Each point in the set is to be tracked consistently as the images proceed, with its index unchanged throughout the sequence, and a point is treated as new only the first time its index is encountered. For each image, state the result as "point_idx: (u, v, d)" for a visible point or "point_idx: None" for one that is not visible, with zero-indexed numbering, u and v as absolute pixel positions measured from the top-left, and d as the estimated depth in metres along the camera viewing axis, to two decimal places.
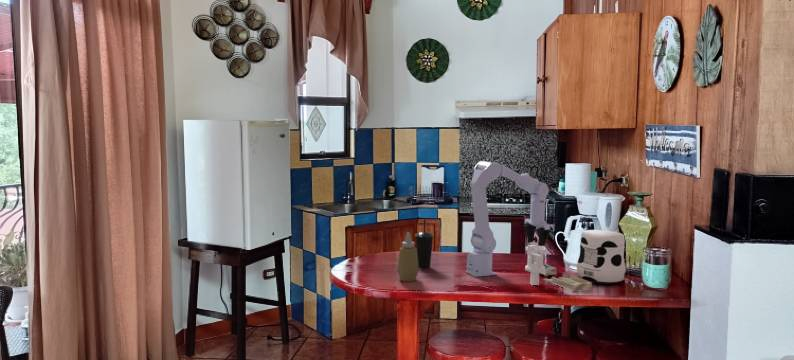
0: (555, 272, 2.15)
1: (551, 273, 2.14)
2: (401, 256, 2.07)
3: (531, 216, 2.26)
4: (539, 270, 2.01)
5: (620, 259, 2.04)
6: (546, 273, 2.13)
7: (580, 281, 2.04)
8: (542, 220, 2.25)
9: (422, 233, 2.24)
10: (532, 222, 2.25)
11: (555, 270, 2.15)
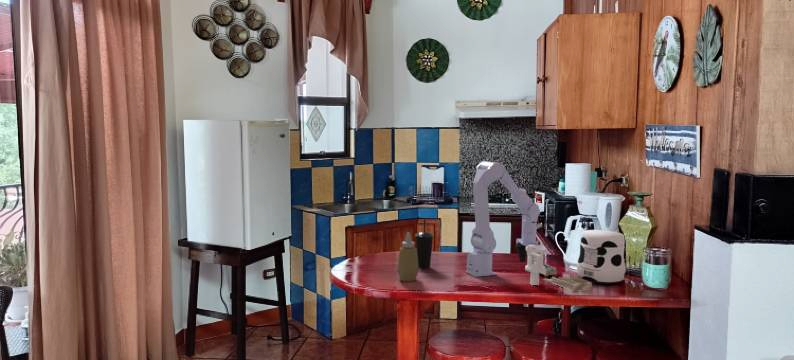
0: (555, 272, 2.15)
1: (551, 273, 2.14)
2: (401, 256, 2.07)
3: (522, 237, 2.26)
4: (539, 270, 2.01)
5: (620, 259, 2.04)
6: (546, 273, 2.13)
7: (580, 281, 2.04)
8: (533, 241, 2.25)
9: (422, 233, 2.24)
10: (524, 243, 2.25)
11: (555, 270, 2.15)
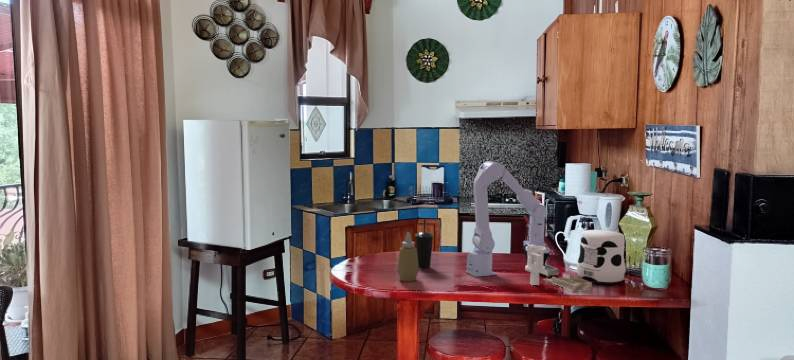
0: (557, 273, 2.14)
1: (553, 274, 2.13)
2: (401, 256, 2.07)
3: (530, 239, 2.21)
4: (539, 270, 2.01)
5: (620, 259, 2.04)
6: (548, 274, 2.12)
7: (580, 281, 2.04)
8: (541, 243, 2.20)
9: (422, 233, 2.24)
10: None
11: (557, 271, 2.14)
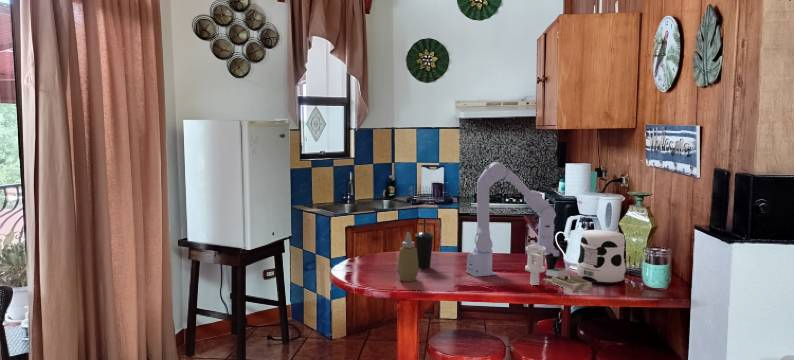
0: (567, 274, 2.08)
1: (563, 275, 2.07)
2: (401, 256, 2.07)
3: (539, 241, 2.16)
4: (539, 270, 2.01)
5: (620, 259, 2.04)
6: (558, 275, 2.07)
7: (580, 281, 2.04)
8: (551, 245, 2.14)
9: (422, 233, 2.24)
10: None
11: (567, 272, 2.08)
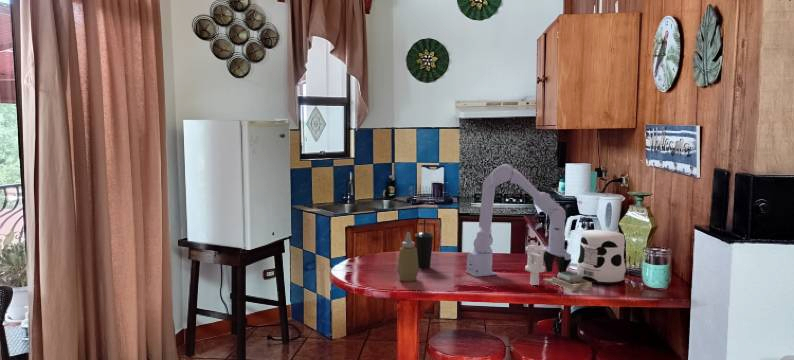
0: (579, 279, 2.02)
1: (575, 280, 2.01)
2: (401, 256, 2.07)
3: (550, 244, 2.09)
4: (539, 270, 2.01)
5: (620, 259, 2.04)
6: (570, 280, 2.00)
7: (580, 281, 2.04)
8: (562, 249, 2.08)
9: (422, 233, 2.24)
10: (551, 251, 2.09)
11: (579, 277, 2.02)
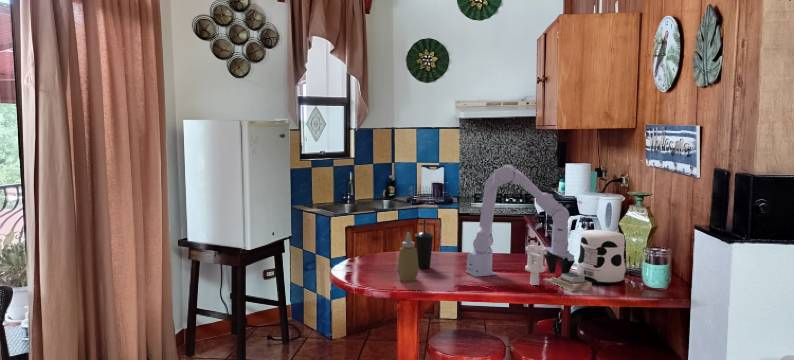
0: (583, 280, 2.00)
1: (578, 282, 1.99)
2: (401, 256, 2.07)
3: (553, 245, 2.08)
4: (539, 270, 2.01)
5: (620, 259, 2.04)
6: (573, 282, 1.99)
7: None
8: (565, 250, 2.07)
9: (422, 233, 2.24)
10: (554, 252, 2.07)
11: (583, 278, 2.00)
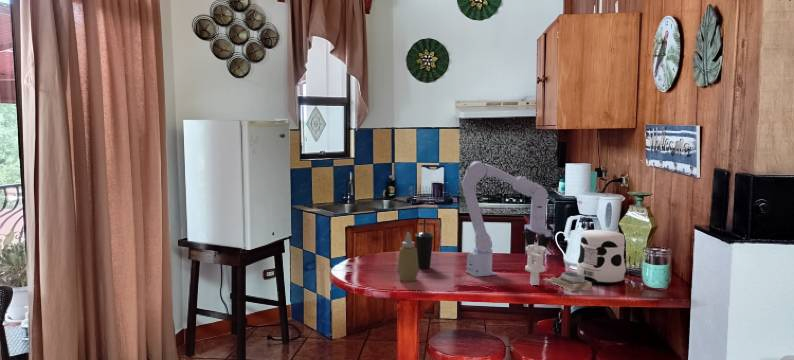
0: (583, 280, 2.00)
1: (578, 282, 1.99)
2: (401, 256, 2.07)
3: (531, 222, 2.15)
4: (539, 270, 2.01)
5: (620, 259, 2.04)
6: (573, 282, 1.99)
7: None
8: (543, 226, 2.13)
9: (422, 233, 2.24)
10: (532, 228, 2.14)
11: (583, 278, 2.00)
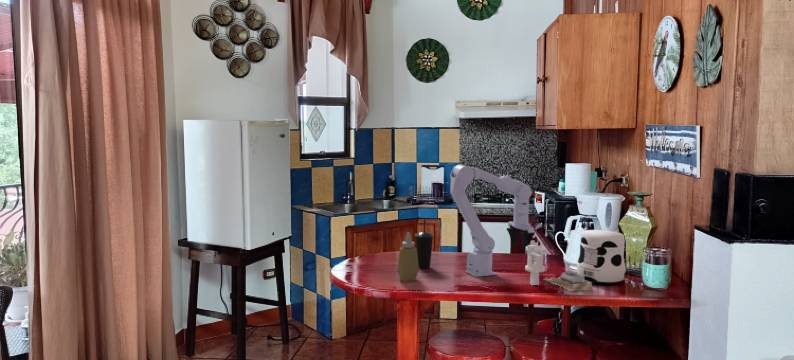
0: (583, 280, 2.00)
1: (578, 282, 1.99)
2: (401, 256, 2.07)
3: (514, 219, 2.19)
4: (539, 270, 2.01)
5: (620, 259, 2.04)
6: (573, 282, 1.99)
7: None
8: (526, 223, 2.18)
9: (422, 233, 2.24)
10: (515, 225, 2.19)
11: (583, 278, 2.00)
